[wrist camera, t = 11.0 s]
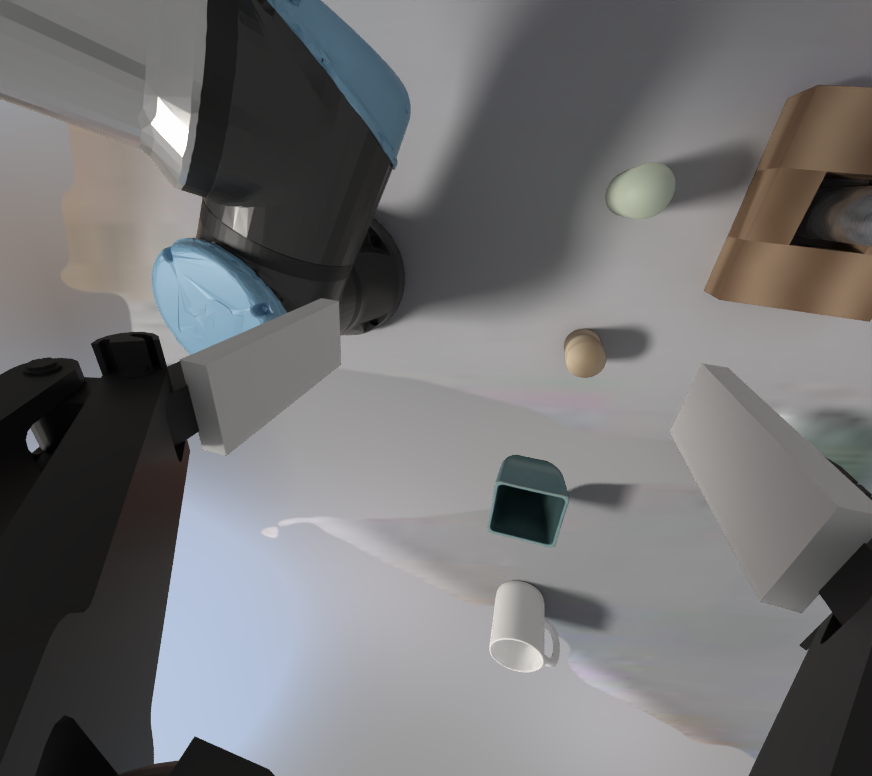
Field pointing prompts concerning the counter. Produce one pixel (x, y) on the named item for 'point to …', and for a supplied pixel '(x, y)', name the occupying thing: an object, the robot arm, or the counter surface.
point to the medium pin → (641, 191)
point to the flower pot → (528, 501)
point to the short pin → (584, 353)
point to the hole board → (802, 212)
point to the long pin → (839, 216)
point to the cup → (521, 629)
